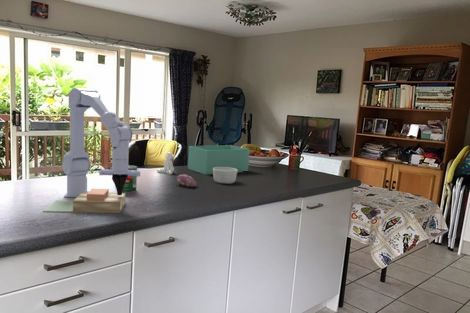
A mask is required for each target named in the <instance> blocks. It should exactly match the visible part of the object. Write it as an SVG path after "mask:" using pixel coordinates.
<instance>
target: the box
mask: <svg viewBox="0 0 470 313" xmlns="http://www.w3.org/2000/svg"><path fill="white" fill-rule="evenodd" d="M187 155H188V156H187V157H188V158H187V169H188V170H190V171H194V172H197V173H200V174H203V175H213V168H215V167H229V168H235V169H237V170H238V172H237V173H244V172H243V171H248V172H249V165H250V164H249V163H250V162H249V161H250V148H246V147H241V146H236V145H230V144H229V145H227V144H226V145H189V146H188V154H187Z"/></svg>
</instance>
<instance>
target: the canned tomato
mask: <svg viewBox="0 0 470 313" xmlns="http://www.w3.org/2000/svg"><path fill="white" fill-rule="evenodd" d="M128 170H136V171H138V166H137V165H131V164H128ZM137 179H138V177H137V176H128V177H127V180H126V182H125V184H124V187H123V191H122V193H123V192H124V193H125V194H129V193H130V192H131V193H136V191H137Z"/></svg>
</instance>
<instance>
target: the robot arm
mask: <svg viewBox="0 0 470 313" xmlns="http://www.w3.org/2000/svg"><path fill="white" fill-rule="evenodd" d="M91 108H92V109H93V111H94V112H96V114H98V116H99V117H100V123H102V125H103V126H104V128H105V129H106V130H107V131H108V136H109V137H108V138H109V140H110V145H111V147H112V151H111V152H112V156H111V157H112V158H111V161H112V162H111V165H112V166H111V168H109V169H105V168H103V169H99V173H98V174H99V175H98V176H111V179H112V182H113V184H114V186H115V191H116V193H117V195H122V193H123V192H122V191H123V187H124V184H125V182H126V180H127V177H128V176H137V178H139V177H141V170H137V171H136V170H128V165H129V156H130V155H129V154H130V150H129V147H130V141H131V140H132V138H133V130H132V128H131V126H129V125H126V124H123V122H122V121H121V120H120V119H119V118H118V116H117V114H116V113H115V112H112V111H109V110H108V109H107V107H106V106H105V104H104V102H103V101H102V100H101V94H100V93H99V91H98V90H97V89H95V88H93V89H91V88H78V87H73V88H72V89H71V90H70V91H69V92H68V109H69V147H70V148H69V151H67V152H66V153H65V154H64V155H63V160H62V163H61V168H62V171H63V172H64V174H65V175H66V194H64V195H63V198H77V197H78V196H79V195H80V194H81V193H82V192H89V191H90V190H88V177H87V175H88V173H89V172H90V170H91V168H92V164H91V159H90V154H89V153H88V152H86V151H85V112H86V111H87V110H88V109H91Z"/></svg>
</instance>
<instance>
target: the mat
mask: <svg viewBox="0 0 470 313" xmlns="http://www.w3.org/2000/svg"><path fill="white" fill-rule="evenodd" d="M73 201H74V200H64V199H63V200H62V199H56V200H54V202H52V203H51V204H49V206H47V207H46V208H44V209H43V210H42V213H74V212H73Z"/></svg>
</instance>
